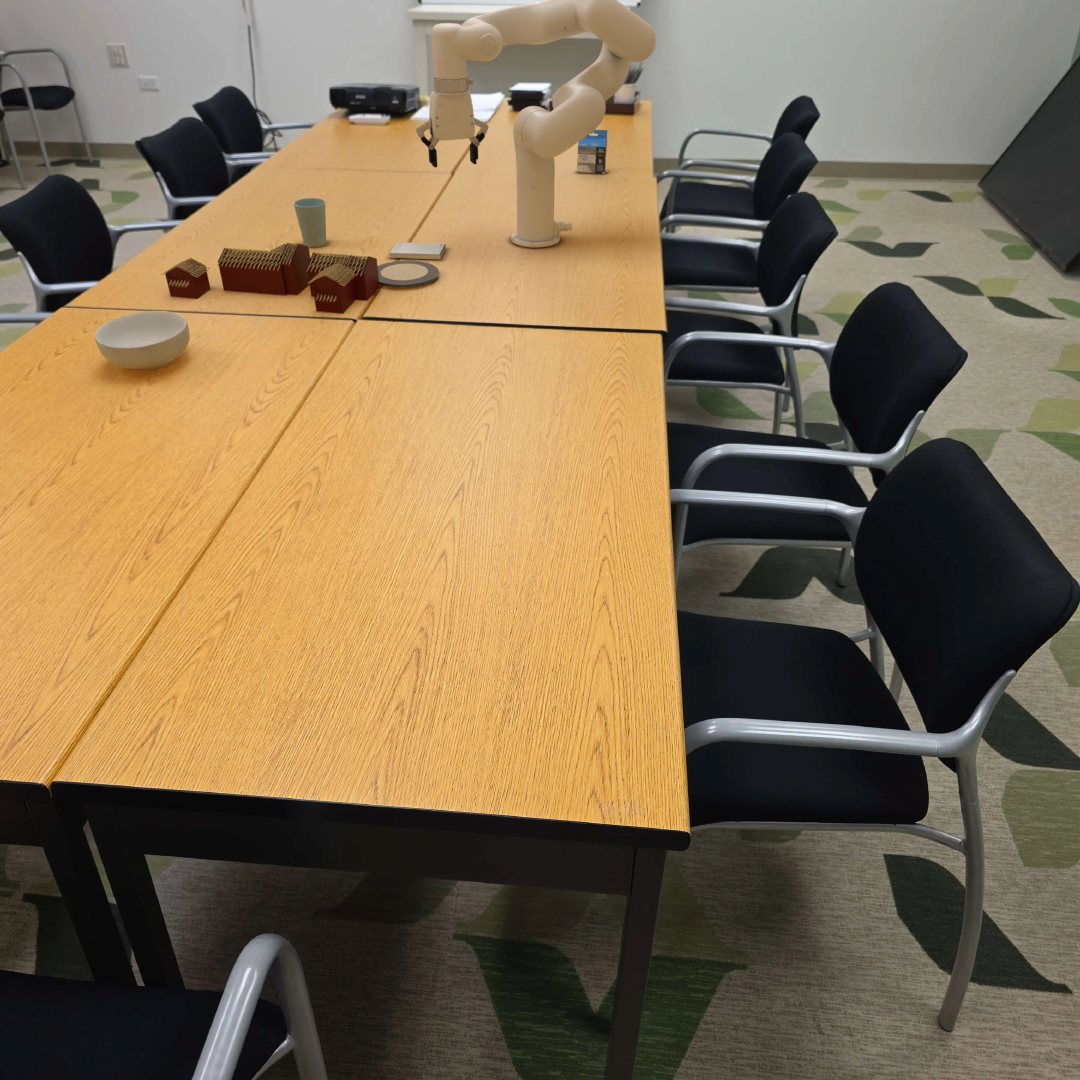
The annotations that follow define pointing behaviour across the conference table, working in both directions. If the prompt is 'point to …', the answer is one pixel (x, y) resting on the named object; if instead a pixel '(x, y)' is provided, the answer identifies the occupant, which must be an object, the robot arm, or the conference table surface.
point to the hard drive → (418, 250)
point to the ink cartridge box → (592, 153)
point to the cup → (312, 221)
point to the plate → (406, 273)
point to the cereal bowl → (143, 339)
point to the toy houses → (283, 275)
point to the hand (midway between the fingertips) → (454, 164)
